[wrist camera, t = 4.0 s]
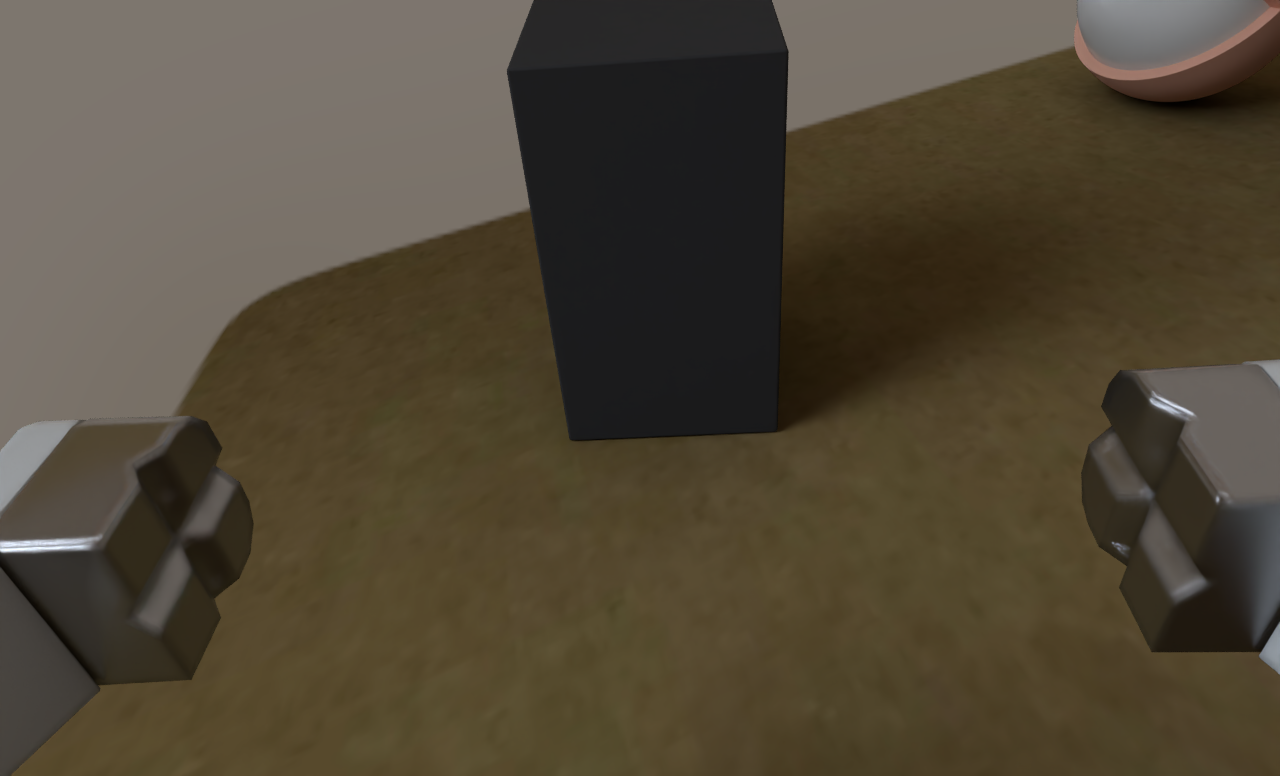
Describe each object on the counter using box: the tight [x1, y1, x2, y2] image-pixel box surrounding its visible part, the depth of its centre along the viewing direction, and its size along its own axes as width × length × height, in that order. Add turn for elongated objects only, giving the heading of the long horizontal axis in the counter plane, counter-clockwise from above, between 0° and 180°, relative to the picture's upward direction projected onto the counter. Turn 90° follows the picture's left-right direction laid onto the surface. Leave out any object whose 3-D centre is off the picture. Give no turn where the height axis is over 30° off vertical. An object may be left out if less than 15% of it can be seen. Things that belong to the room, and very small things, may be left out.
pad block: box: [507, 0, 788, 440], centre depth 20 cm, size 5×5×9 cm
